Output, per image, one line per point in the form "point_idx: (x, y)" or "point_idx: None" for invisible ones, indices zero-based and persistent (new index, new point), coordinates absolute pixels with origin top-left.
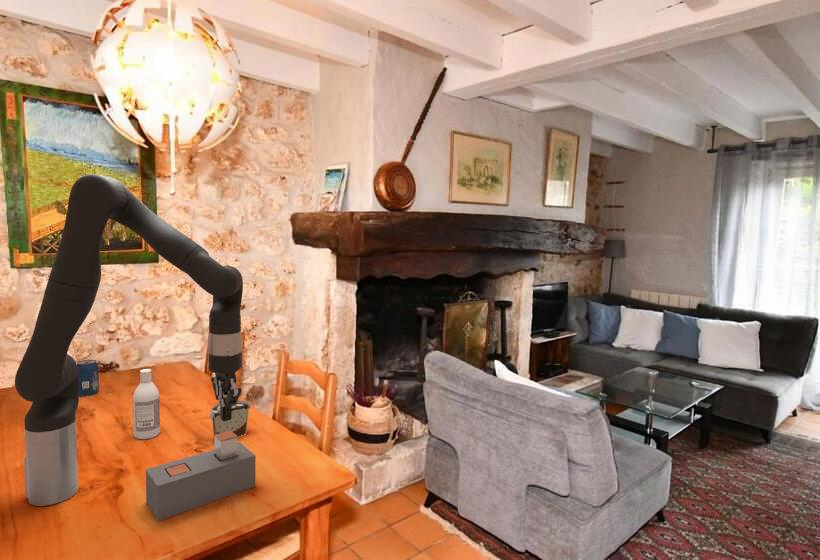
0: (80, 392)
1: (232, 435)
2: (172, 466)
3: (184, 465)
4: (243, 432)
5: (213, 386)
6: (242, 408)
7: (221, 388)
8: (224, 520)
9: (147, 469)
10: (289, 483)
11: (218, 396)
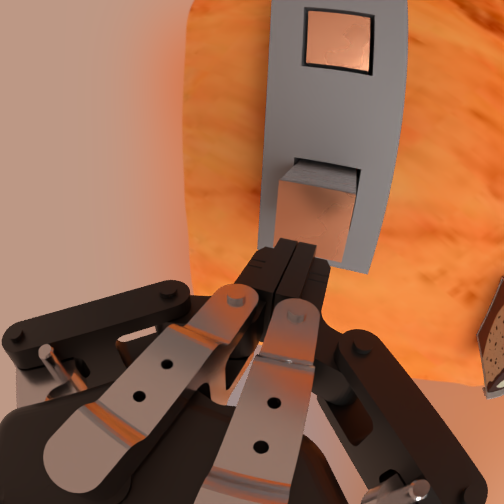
0: None
1: (291, 239)
2: (374, 38)
3: (353, 64)
4: (480, 335)
5: (437, 438)
6: (494, 379)
7: (102, 398)
8: (210, 103)
9: None
10: (244, 262)
11: (311, 357)
